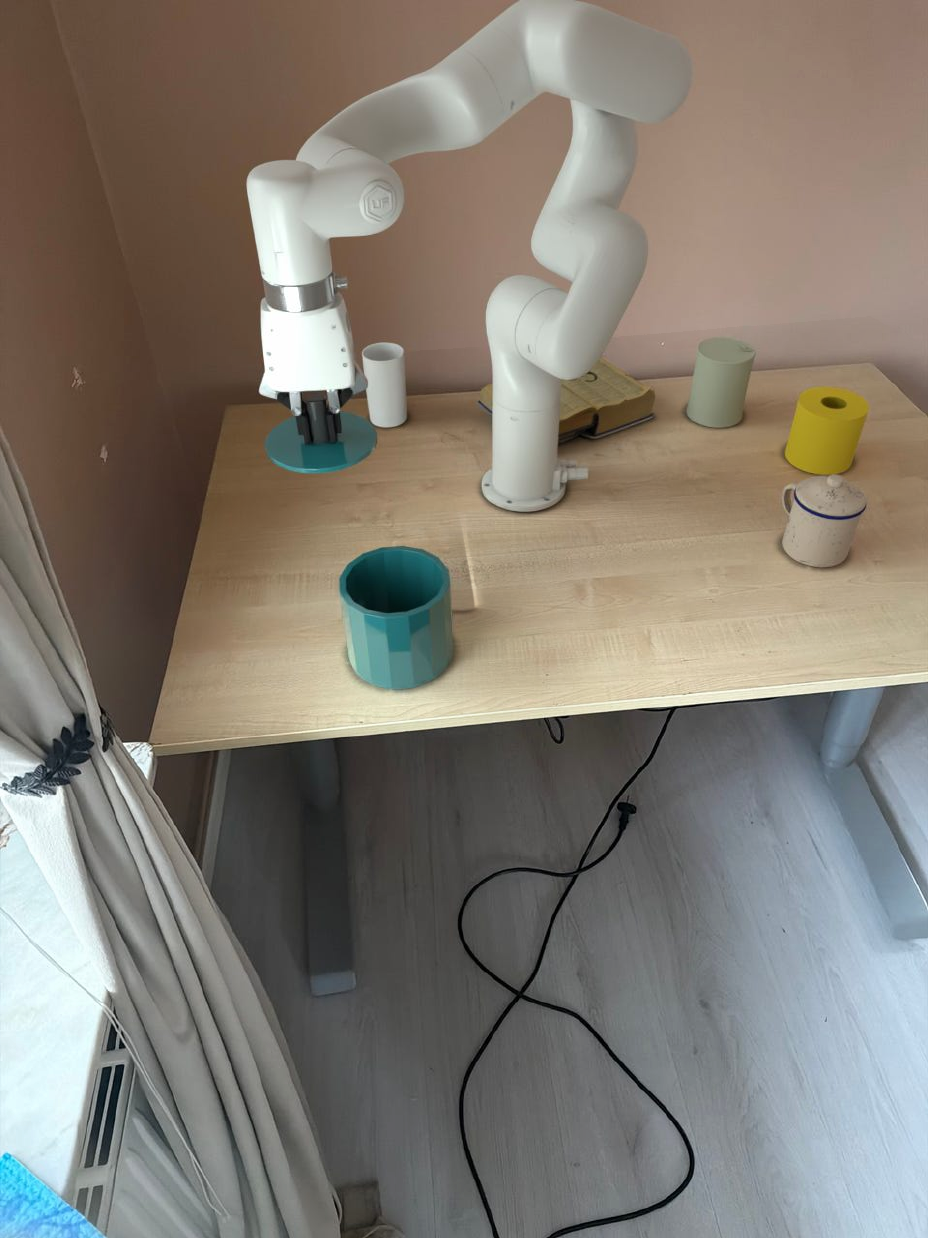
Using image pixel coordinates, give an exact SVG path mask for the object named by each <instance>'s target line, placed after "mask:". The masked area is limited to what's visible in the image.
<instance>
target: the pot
mask: <svg viewBox="0 0 928 1238" xmlns="http://www.w3.org/2000/svg"><path fill="white" fill-rule="evenodd" d="M451 589H452V587H451V577H450V570H449V568H448V567H447V566H446V565H445V563H444V562H443V561H442V560H441V558H440V557H439V556H437V555H435V554H433V553H431V552H430V551H427V550H425V549H424V548H418V547H414V546H413V547H412V546H407V545H394V546H393V545H392V546H382V547H379V548H375V549H372V550H369V551H366V552H363V553H362V554H360V555H359V556H357V557H356V558H354V559H353V560H351V561H350V562H348V563H347V565H345V568H344V569H343V570H342V572H341V574H340V576H339V578H338V594H339V601H340V608H341V615H342V621H343V628H344V635H345V642H346V649H347V657H348V661H349V662H350V665H351V668H352V670H353V671H354V672H355V674H356V675H357V676H358V677H359V678H360V679H362V680H363V681H365V682H366V683H369V684H370V685H373V686H374V687H378V688H382V689H385V690H386V689H387V690H408V689H413V688H417V687H421V686H423V685H426V684H427V683H430V682H432V681H434V680H435V679H437V678H438V677H439V676H441V675H442V674H443V673H444V671H445V670H446V669H447V667H449V664H450V662H451V660H452V656H453V652H454V645H453V644H454V643H453V641H454V640H453V618H452V617H453V615H452V590H451Z"/></svg>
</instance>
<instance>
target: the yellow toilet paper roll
mask: <svg viewBox="0 0 928 1238" xmlns="http://www.w3.org/2000/svg"><path fill="white" fill-rule="evenodd" d="M869 411H870V405H869V403H868V401H867V400H866V399H865V398H864V397H863V396H861V395H860V394H858V393H855V392H854V391H851V390H849V389H845V388H839V387H836V386H835V387H834V386H815V387H811V388H808V389H805V390H804V391H803V392H801V393H800V394H799V396H798V399H797V403H796V408H795V411H794V414H793V418H792V423H791V427H790V431H789V435H788V439H787V442H786V446H785V450H784V457H785V459H786V460H787V461H788V463H790V464H791V465H792V466H793V467H794V468H797V469H799V470H801V471H803V472H806V473H809V474H814V475H819V476H830V475H833V474H836V475H840V474H842V473H844V472H846V471H848V470H849V469H850V468H851V466H852V463H853V460H854V457H855V454H856V452H857V448H858V444H859V441H860V438H861V435H862V432H863V429H864V426H865V424H866V420H867V416H868V413H869Z"/></svg>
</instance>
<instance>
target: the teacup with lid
mask: <svg viewBox="0 0 928 1238" xmlns="http://www.w3.org/2000/svg"><path fill="white" fill-rule="evenodd" d="M792 490H793V501H791V495H792ZM781 503H782V507H783V509H784V511H785V513H786V514H787V516H788V519H787V523H786V527H785V530H784V533H783V537H782V541H781V542H782V543H781V544H782V547H783V550H784V552H785V553H786V554H787V555H788V556H789V557H790V558H791V559H793V560H794V561H796V562H798V563H800V564H803V565H805V566H809V567H812V568H813V567H814V568H830V567H835V566H838V565H839V564H841V563H843V562H844V561H845V560H846V559H847V557H848V555H849V552H850V549H851V546H852V543H853V541H854V538H855V535H856V532H857V529H858V526H859V523H860V520H861V517H862V515H863V513H864V512H865V511H866V508H867V505H868V504H867V498H866V494H865V493H864V491H863V490H862V489H861V488H860V486H858V485H856V484H855V483H853V482H851V481H849V480H848V479H844V477H843V476H842V475H840V474H833V475H815V476H809V477H807V478H804V479H803V480H802V481H800V482H799V483H798V482H791V483H788V484H787V485H785V486H784V488H783V489H782V493H781Z"/></svg>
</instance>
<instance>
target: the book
mask: <svg viewBox="0 0 928 1238" xmlns="http://www.w3.org/2000/svg"><path fill="white" fill-rule="evenodd" d="M561 381H562V385H561V401H560V417H559V433H558V444H559V443H563V442H566V441H569V440H571V439H574V438H577V437H578V436H580V435H581V436H583V437H586V438H589V439H593V440H596V439H600V438H603V437H605V436H608V435H611V434H614V433H616V432H619V431H622V430H626V429H628V428H630V427H633V426H635V425H638V424H640V423H644V422H646V421H648V420H651V419H653V418H654V416H655V413H653V409H654V405H655V401H656V393H655V391H654V390H652V389H651V388H652V385H645V384H643V383H641V382H639V381H638V380H636V379H635V378H634V377H632V376H629V374H627V372H625V371H624V370H623V369H621V368H619V367H617V366H616V365H614V364H612V363H610V362H609V361H608V360H607V359H605V358H604V357H603V355H602V356H601V357H600V359H599V360H598V362H597V363H596V364H595V366H594V367H593V368H592V369H591V370H590V371H589V372H588V373H586V374H585V375H583V376H582V377H580V378H577V379H574V380H564V379H561ZM479 396H480V398H479V400H477V401H476V404H477V405H478V406H479V407H480V408H481V409H482V410H484V412H486V413H487V414H489V415H490V416H491V417H492V413H493V382H492V383H487V384H486V385H485V387H482V388H481V389H480V395H479Z"/></svg>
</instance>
